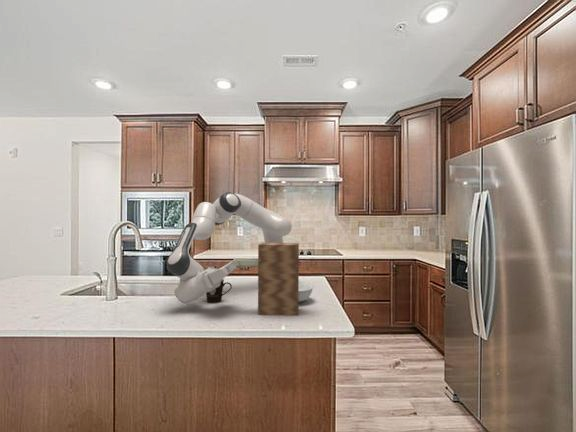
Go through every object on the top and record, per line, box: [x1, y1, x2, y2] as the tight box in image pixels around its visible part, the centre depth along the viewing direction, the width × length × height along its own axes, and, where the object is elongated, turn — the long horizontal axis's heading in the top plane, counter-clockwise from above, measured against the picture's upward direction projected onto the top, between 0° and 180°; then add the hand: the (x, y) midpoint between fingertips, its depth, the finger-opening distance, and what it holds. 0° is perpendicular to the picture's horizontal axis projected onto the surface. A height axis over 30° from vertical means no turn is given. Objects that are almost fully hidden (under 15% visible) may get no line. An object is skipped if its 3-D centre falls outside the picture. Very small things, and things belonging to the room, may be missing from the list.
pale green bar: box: [231, 258, 258, 268], centre depth 146 cm, size 22×4×3 cm, turn 87°
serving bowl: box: [298, 282, 313, 303], centre depth 165 cm, size 21×21×7 cm
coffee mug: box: [205, 278, 233, 304], centre depth 162 cm, size 12×9×10 cm
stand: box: [257, 242, 300, 316], centre depth 146 cm, size 16×10×28 cm, turn 87°
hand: (240, 261), depth 146 cm, fingers closed on pale green bar, 4 cm apart
